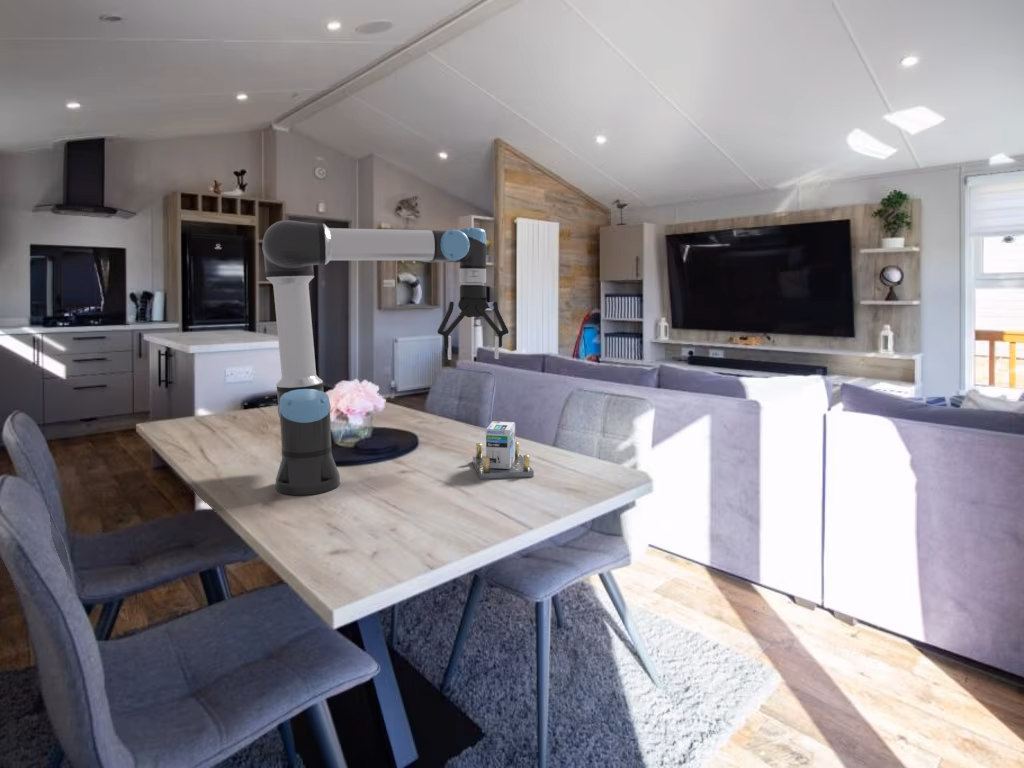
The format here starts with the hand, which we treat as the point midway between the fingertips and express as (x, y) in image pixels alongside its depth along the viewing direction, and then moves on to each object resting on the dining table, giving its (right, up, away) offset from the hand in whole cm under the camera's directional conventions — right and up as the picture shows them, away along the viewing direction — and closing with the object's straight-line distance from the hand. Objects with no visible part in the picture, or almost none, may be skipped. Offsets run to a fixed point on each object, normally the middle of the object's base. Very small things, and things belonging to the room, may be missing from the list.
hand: (473, 359), depth 182 cm
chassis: (+8, -31, -9) cm, 33 cm away
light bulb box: (+8, -29, -9) cm, 32 cm away
